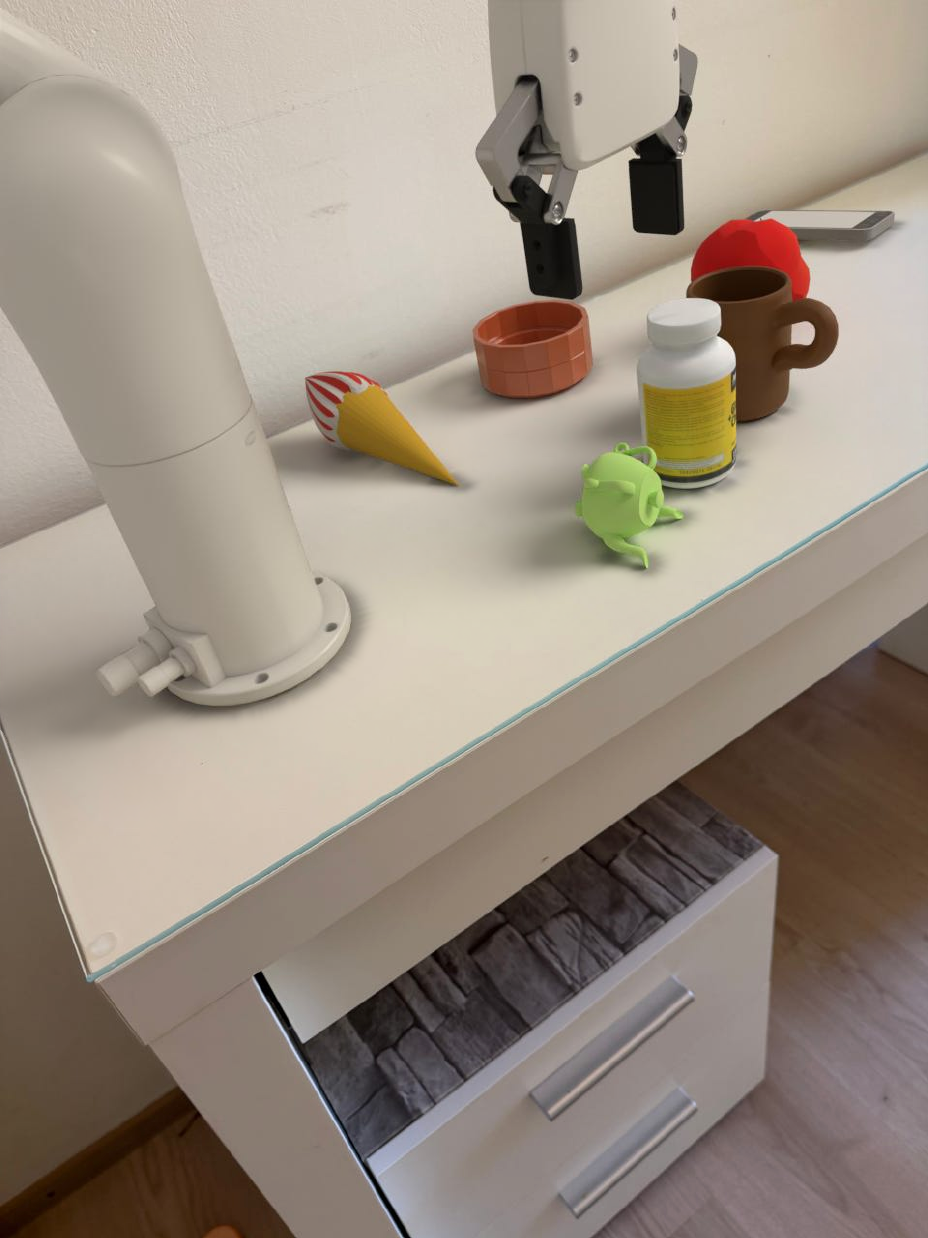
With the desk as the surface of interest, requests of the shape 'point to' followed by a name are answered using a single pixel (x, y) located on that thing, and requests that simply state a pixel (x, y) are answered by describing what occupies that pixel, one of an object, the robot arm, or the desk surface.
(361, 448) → the ice cream cone
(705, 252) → the tomato
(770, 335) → the mug
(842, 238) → the smartphone
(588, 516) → the multi-spout teapot
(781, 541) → the desk surface
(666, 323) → the pill bottle
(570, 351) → the bowl
